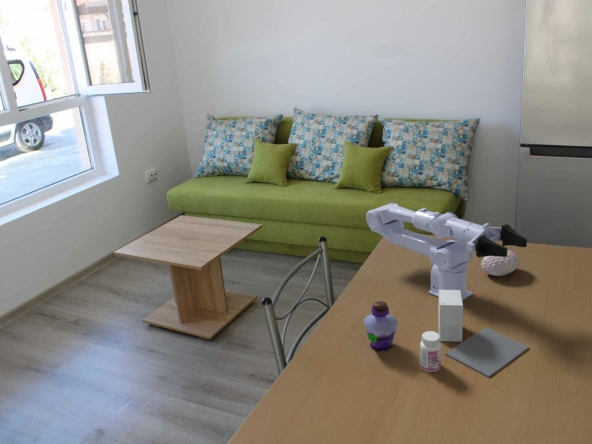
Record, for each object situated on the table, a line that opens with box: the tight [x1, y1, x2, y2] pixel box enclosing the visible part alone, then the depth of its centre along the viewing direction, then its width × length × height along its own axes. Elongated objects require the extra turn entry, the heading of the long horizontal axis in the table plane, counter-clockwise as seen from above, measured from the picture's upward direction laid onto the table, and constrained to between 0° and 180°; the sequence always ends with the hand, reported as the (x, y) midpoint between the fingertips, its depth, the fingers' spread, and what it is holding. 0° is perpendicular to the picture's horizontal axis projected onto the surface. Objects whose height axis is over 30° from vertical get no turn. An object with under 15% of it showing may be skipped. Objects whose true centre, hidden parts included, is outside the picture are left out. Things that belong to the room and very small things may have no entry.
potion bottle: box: [363, 300, 399, 352], centre depth 136 cm, size 9×9×12 cm
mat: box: [444, 326, 530, 378], centre depth 132 cm, size 12×16×1 cm
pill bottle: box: [419, 330, 442, 373], centre depth 127 cm, size 5×5×8 cm
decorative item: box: [480, 249, 521, 277], centre depth 166 cm, size 9×11×10 cm
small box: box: [437, 290, 464, 343], centre depth 138 cm, size 8×6×10 cm
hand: (516, 247), depth 135 cm, fingers open, 7 cm apart
